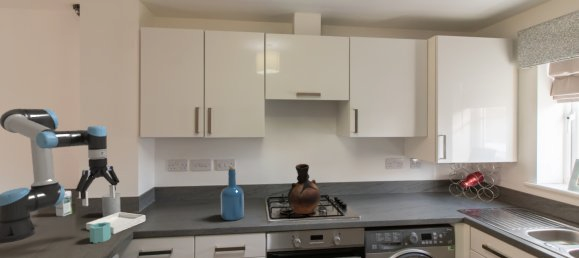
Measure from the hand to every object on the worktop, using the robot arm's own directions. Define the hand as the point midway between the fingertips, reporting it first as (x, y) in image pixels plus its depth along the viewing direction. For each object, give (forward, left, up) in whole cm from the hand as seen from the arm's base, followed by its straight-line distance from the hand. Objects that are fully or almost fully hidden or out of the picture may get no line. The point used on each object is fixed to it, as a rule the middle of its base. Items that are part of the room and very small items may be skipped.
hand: (99, 201), depth 139 cm
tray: (+17, +10, -19) cm, 27 cm away
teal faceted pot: (0, 0, -19) cm, 19 cm away
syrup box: (+20, +58, -19) cm, 64 cm away
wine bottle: (+48, -45, -19) cm, 68 cm away
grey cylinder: (+29, +29, -19) cm, 45 cm away
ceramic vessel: (+68, -83, -19) cm, 109 cm away
